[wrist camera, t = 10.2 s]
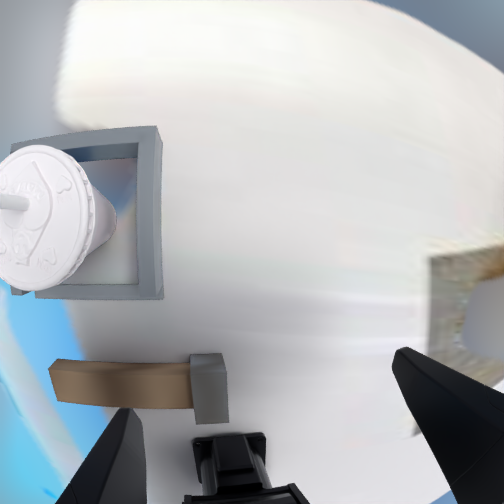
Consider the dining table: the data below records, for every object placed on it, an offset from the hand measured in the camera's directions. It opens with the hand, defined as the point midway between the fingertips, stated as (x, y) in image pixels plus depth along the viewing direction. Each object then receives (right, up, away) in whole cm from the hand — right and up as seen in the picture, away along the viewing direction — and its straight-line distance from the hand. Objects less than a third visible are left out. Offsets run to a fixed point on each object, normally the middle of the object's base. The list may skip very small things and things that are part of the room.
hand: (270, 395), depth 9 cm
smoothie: (-12, +7, +11) cm, 17 cm away
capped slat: (-11, -6, +12) cm, 17 cm away
